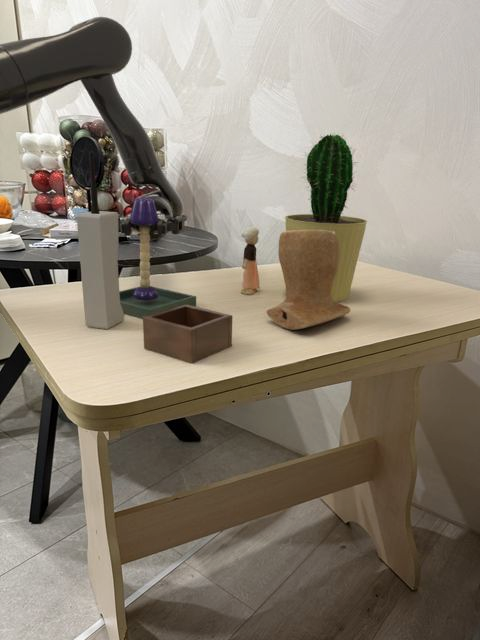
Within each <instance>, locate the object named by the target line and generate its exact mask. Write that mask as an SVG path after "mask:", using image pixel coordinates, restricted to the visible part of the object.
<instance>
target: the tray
mask: <svg viewBox="0 0 480 640" xmlns="http://www.w3.org/2000/svg"><path fill="white" fill-rule="evenodd" d="M138 287H141V285H139V286H136V287H131V288H128V289H124V290H119V294H120V304H121V307H122V310H123V313H124V315H128V316H130V317H135V318H139V319H143V317H145V316H149V315H152V314H155V313H159V312H162V311H165V310H169V309H172V308H175V307H179V306H182V305H185V304H186V305H190V306H195V307H197V295H192V294H187V293H183V292H178V291H174V290H170V289H165V288H161V287H155V286H153V285H150V287H153V288H154V289H155V290H156V292H157V294H158V298H156V299H153V300H138V299H135V298H134V297H133V294H134V291H135V290H136V289H137V288H138Z"/></svg>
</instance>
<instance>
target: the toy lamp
mask: <svg viewBox="0 0 480 640" xmlns="http://www.w3.org/2000/svg"><path fill="white" fill-rule="evenodd" d="M132 207H133V208H131V209H132V213H131V217H130V223H131V224H134V225H140V226H139V230H140V237H139V241H140V243H139V251H140V252H139V260H140V262H139V268H140V271H139V277H140V279H139V286H137V287H138V288H137V289H136V290H135V291H134V294H133V297H134V298H135V299H138V300H153V299H156V298H158V294H157V292H156V290H155V289H154V288H153V287H154V286H152V287H150V286H151V281H150V280H151V279H150V277H151V271H150V268H151V262H150V260H151V252H150V250H151V244H150V241H151V240H150V235H149V232H150V226H153V225H157V223H158V221H159V220H158V216H157V212H156V208H155V204H154V201H153V199H151V198H138V197H135V198H134V200H133V204H132ZM140 286H141V287H140Z"/></svg>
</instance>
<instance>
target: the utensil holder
mask: <svg viewBox="0 0 480 640" xmlns="http://www.w3.org/2000/svg"><path fill="white" fill-rule="evenodd" d="M94 156H95V155H94V152H93V151H89V152H88V159H89V175H90V198H91V211H86V212H80V213H77V215H76V226H77V227H76V229H77V238H78V251H79V260H80V261H79V264H80V272H81V273H80V274H81V275H80V276H81V288H82V298H83V309H84V311H83V312H84V321H85V326H86V327H88V328H93V329H94V328H95V329H101V330H108V329H111V328H112V327H115V326H116V325H118V324H120V323H122V322H123V321H124V320H125V314H124V313H123V310H122V307H121V304H120V294H119V291H120V280H119V279H120V278H119V262H118V251H119V244H120V243H119V233H118V215H119V213H118V212H117V211H103V210H100V209H99V199H98V189H97V188H98V187H97V183H96V182H97V181H96V171H95V168H96V167H95V157H94Z"/></svg>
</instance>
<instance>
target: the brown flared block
mask: <svg viewBox="0 0 480 640" xmlns="http://www.w3.org/2000/svg"><path fill="white" fill-rule="evenodd" d="M277 253H278V261H279V264H280V268H281V272H282V276H283V281H284V286H285V299H284V300H283V301H282V302H281V303H280V304H278V305H277V306H274V307H271V308H269V309H267V310H266V315H267V316H268V317H269V318H270V319H271V320H272V321H273V322H274V323H275V324H277V325H278V326H280V328H282V329H283V328H284V329H286V330H290V331H291V330H293V331H294V330H295V331H296V330H301V329H305V328H310V327H313V326H316V325H320V324H324V323H327V322H329V321H332V320H335V319H339V318H340V317H343V316H345V315H347V314H350V312H351V309H352V308H350V307H349V306H347V305H344V304H342V303H339V302H335V301H333V299H332V296H331V290H332V285H333V281H334V278H335V275H336V272H337V268H338V262H339V241H338V237H337V234H336V233H335V232H334V231H327V230H292V231H286V230H285V231H282V232H281V233H280V234H279V238H278V251H277Z"/></svg>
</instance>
